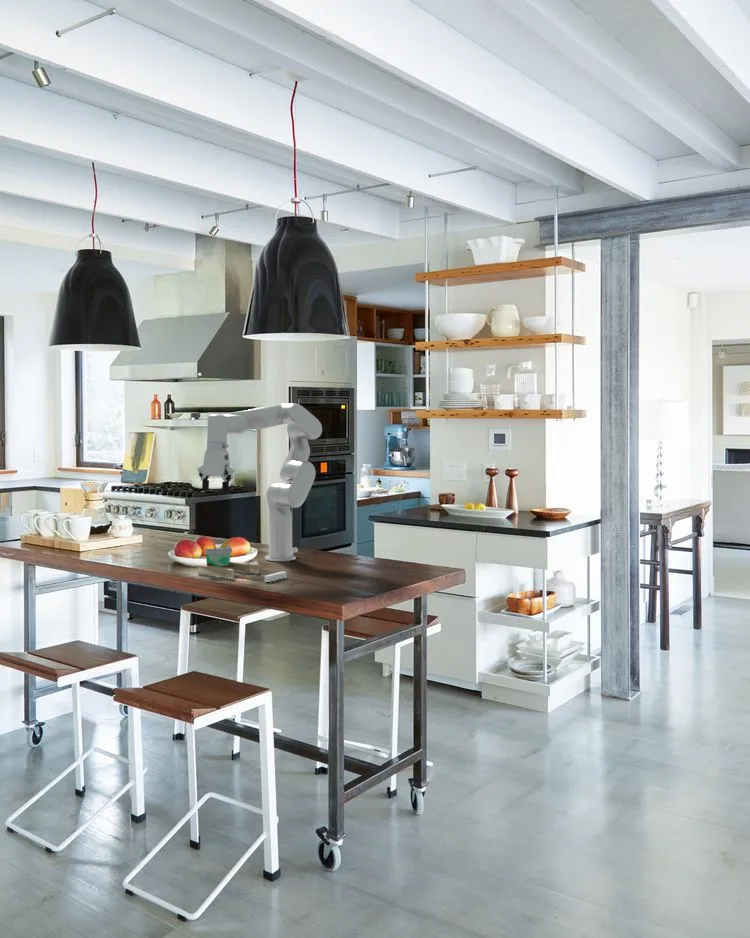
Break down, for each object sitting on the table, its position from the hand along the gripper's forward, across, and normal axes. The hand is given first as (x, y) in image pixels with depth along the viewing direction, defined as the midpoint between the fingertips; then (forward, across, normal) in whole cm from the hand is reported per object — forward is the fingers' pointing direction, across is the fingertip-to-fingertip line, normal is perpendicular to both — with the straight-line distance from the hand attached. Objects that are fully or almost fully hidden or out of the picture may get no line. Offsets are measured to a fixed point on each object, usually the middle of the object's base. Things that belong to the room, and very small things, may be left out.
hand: (215, 491), depth 348 cm
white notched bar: (+30, -33, +5) cm, 45 cm away
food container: (+31, -8, +4) cm, 32 cm away
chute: (+30, -11, +5) cm, 33 cm away
